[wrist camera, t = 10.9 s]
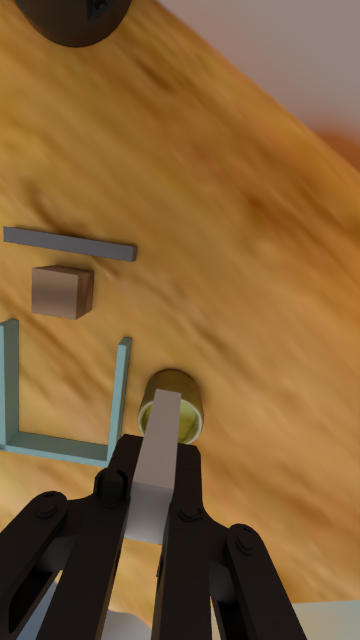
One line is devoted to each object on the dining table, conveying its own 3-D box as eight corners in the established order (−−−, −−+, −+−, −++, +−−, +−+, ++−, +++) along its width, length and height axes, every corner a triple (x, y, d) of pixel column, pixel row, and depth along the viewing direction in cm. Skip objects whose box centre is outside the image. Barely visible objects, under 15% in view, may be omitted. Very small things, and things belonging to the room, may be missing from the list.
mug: (131, 364, 42) (140, 411, 33) (194, 357, 45) (217, 399, 36) (133, 422, 47) (140, 475, 39) (189, 413, 50) (208, 461, 41)
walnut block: (55, 265, 41) (32, 267, 35) (94, 271, 41) (78, 275, 35) (53, 304, 42) (31, 312, 36) (91, 310, 42) (75, 319, 36)
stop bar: (14, 227, 39) (3, 226, 37) (136, 247, 39) (133, 246, 37) (14, 241, 40) (3, 241, 38) (135, 260, 40) (131, 261, 37)
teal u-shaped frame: (10, 318, 43) (-5, 324, 40) (131, 338, 43) (126, 345, 39) (12, 435, 49) (-2, 449, 45) (118, 453, 49) (113, 468, 45)
